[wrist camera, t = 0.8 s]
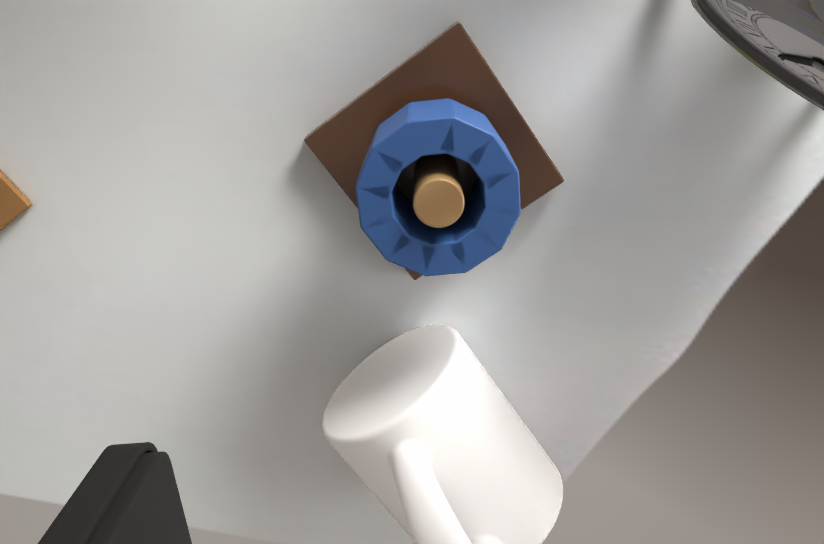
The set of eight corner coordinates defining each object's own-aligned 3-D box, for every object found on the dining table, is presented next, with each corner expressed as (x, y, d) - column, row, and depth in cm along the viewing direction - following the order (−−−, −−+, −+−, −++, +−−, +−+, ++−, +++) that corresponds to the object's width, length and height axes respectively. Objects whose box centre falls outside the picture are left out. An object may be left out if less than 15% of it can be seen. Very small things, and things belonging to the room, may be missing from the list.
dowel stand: (306, 135, 34) (274, 178, 27) (458, 20, 32) (469, 32, 24) (414, 273, 37) (413, 347, 29) (561, 176, 35) (599, 228, 27)
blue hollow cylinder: (336, 156, 31) (323, 182, 27) (453, 69, 30) (459, 83, 26) (420, 263, 33) (420, 303, 29) (533, 186, 32) (551, 217, 28)
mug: (454, 300, 37) (468, 435, 26) (550, 434, 41) (599, 604, 29) (330, 374, 39) (294, 529, 28) (431, 496, 42) (435, 679, 31)
